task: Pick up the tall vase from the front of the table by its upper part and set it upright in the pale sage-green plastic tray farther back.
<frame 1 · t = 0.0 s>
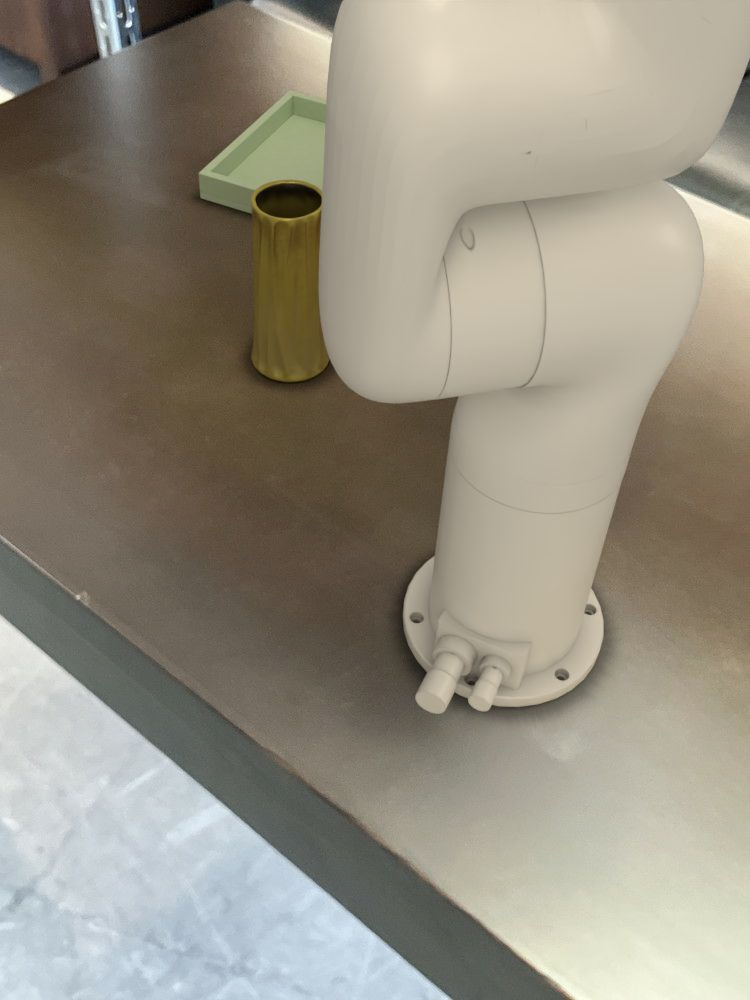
tray: (319, 175, 108), on the table
vase: (290, 360, 90), on the table
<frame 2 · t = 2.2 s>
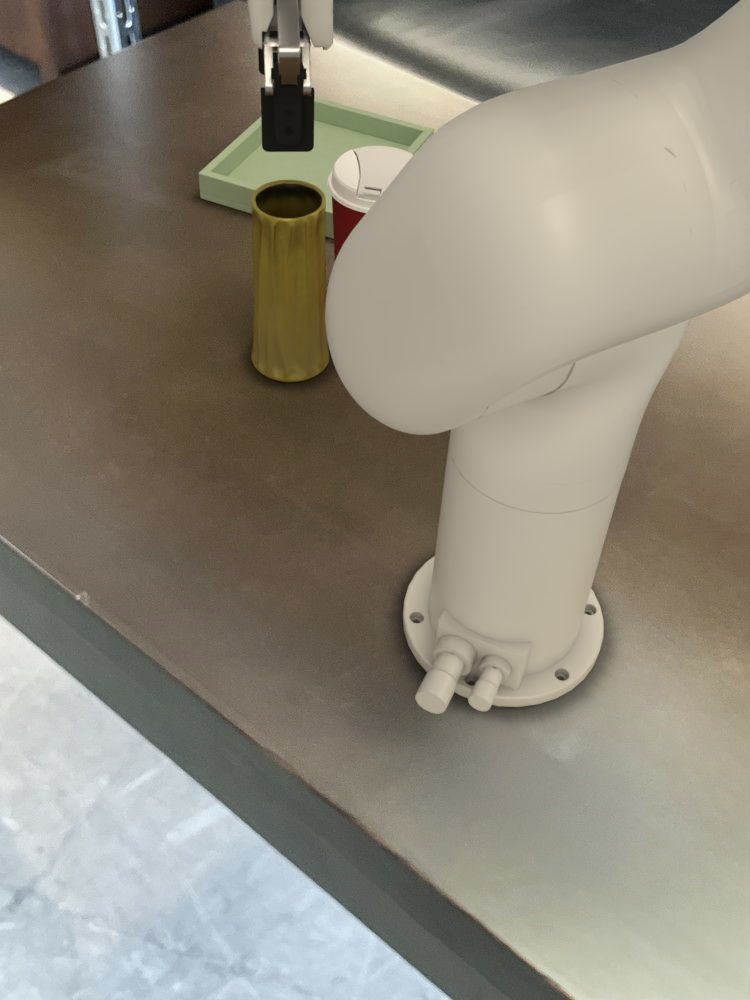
hand: (285, 109, 75), 21 cm above the table, tool pointing down, fingers open, 9 cm apart
nothing on the table moved.
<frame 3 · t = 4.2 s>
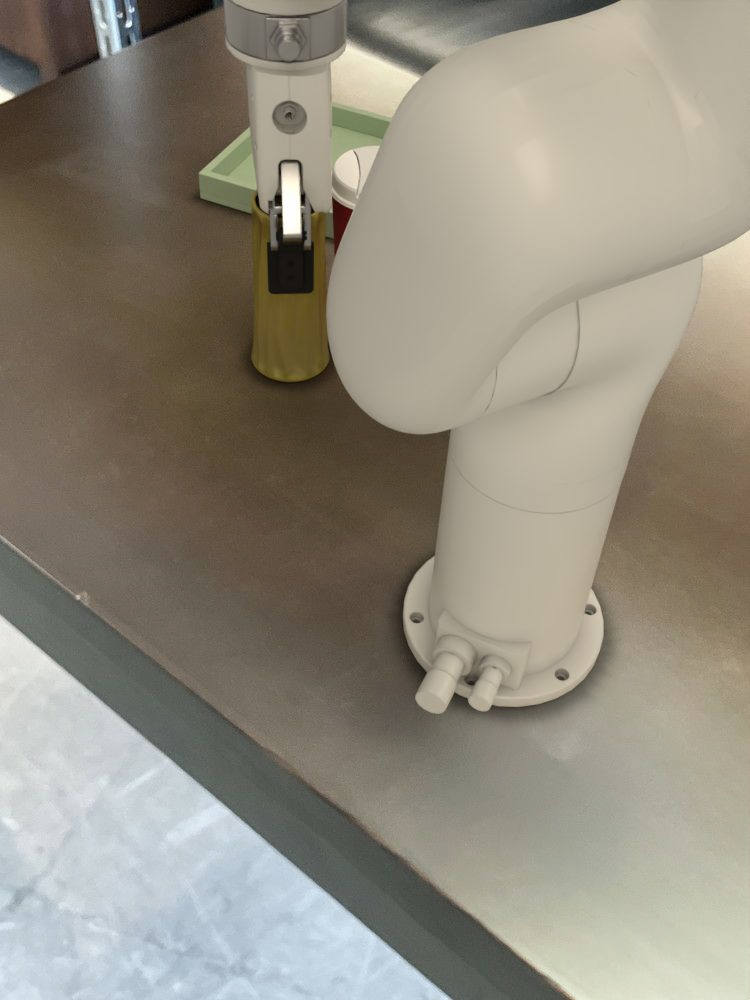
hand: (289, 263, 83), 9 cm above the table, tool pointing down, fingers closed on vase, 5 cm apart
vase: (290, 360, 90), on the table, touching gripper
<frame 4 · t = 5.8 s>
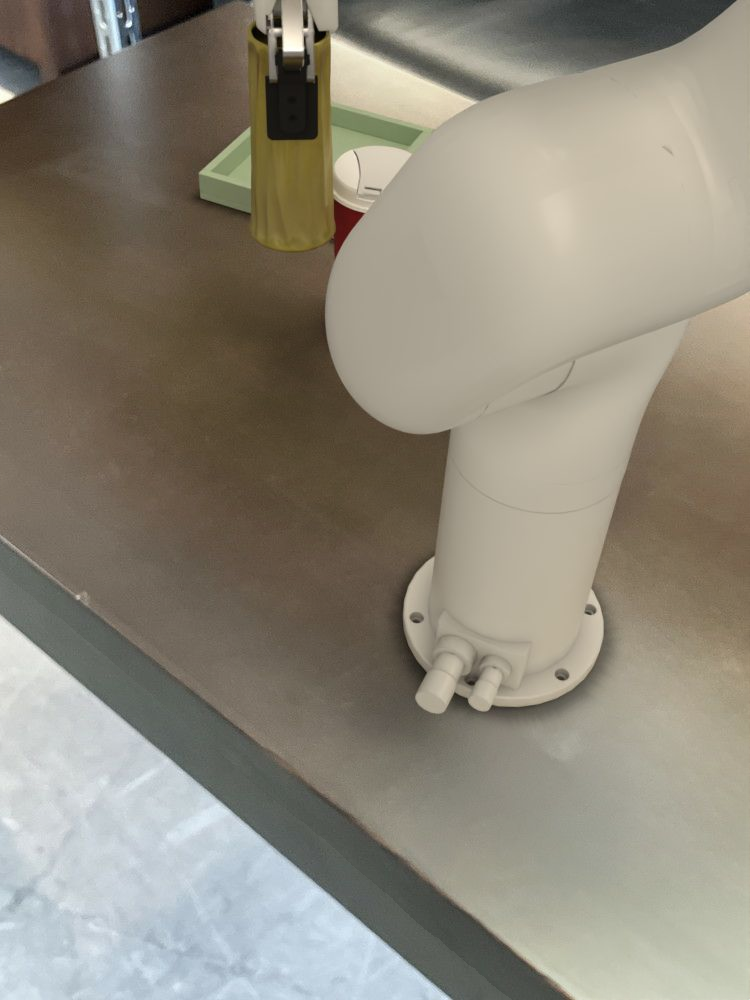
hand: (290, 111, 75), 21 cm above the table, tool pointing down, fingers closed on vase, 5 cm apart
vase: (292, 232, 81), point 12 cm above the table, touching gripper
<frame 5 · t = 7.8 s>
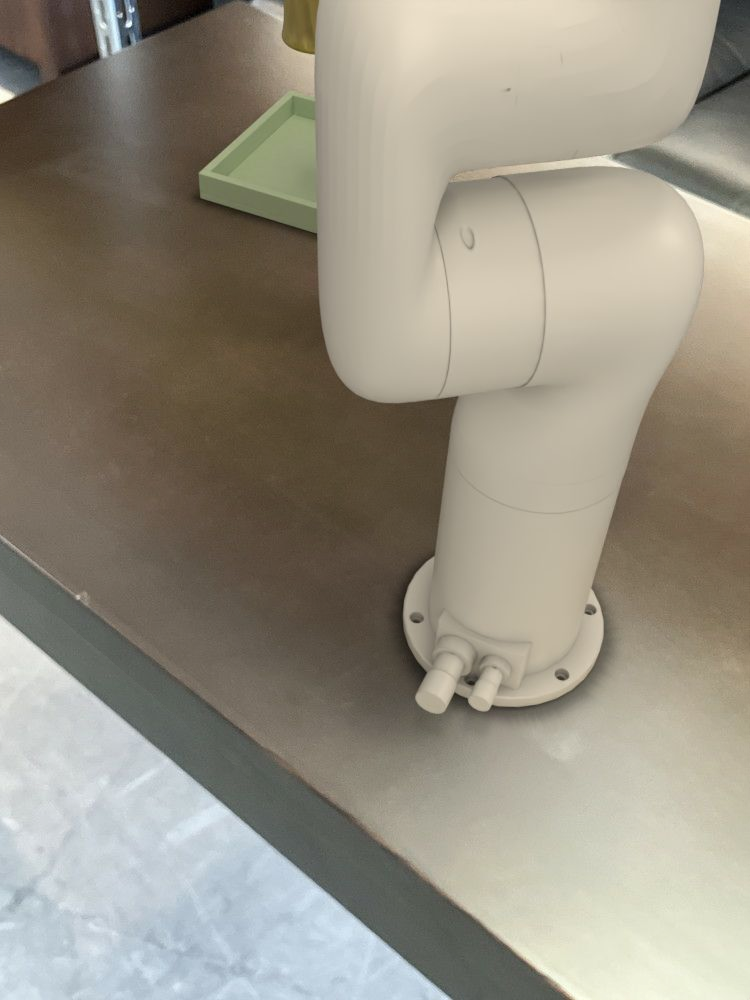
vase: (318, 41, 96), point 14 cm above the table, touching gripper
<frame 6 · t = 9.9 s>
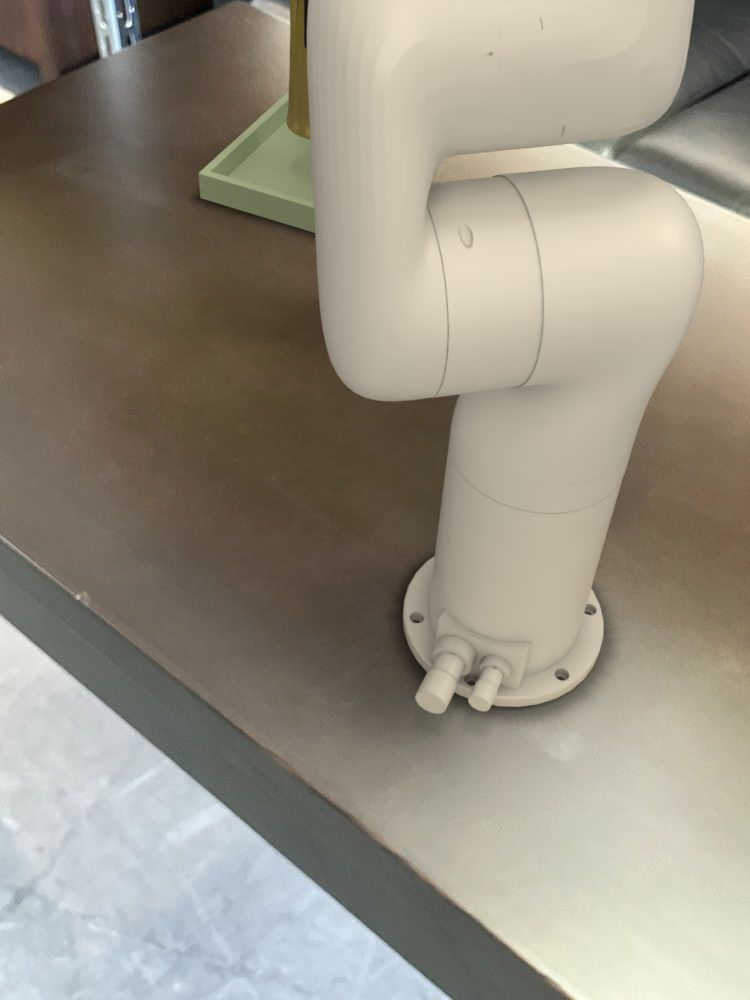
hand: (321, 29, 98), 14 cm above the table, tool pointing down, fingers closed on vase, 5 cm apart
vase: (320, 126, 105), point 5 cm above the table, touching gripper
when the fingers open (9 cm above the table, at t = 11.5 s): vase stays where it is, resting on tray.
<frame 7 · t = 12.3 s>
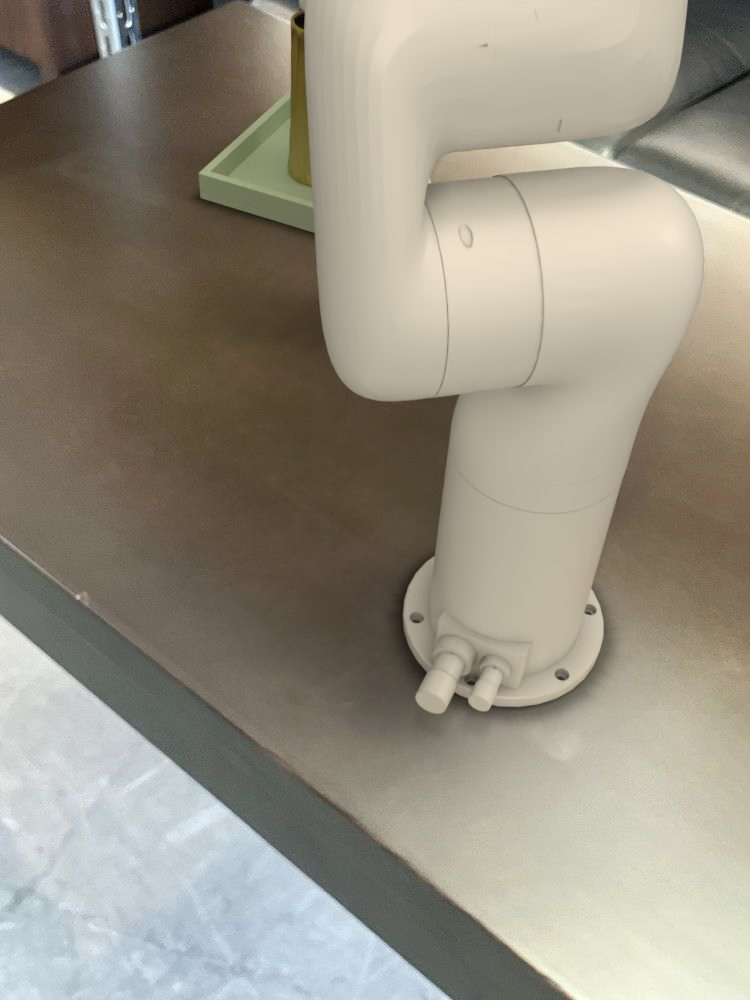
hand: (321, 61, 100), 11 cm above the table, tool pointing down, fingers open, 9 cm apart
vase: (319, 172, 108), resting on tray
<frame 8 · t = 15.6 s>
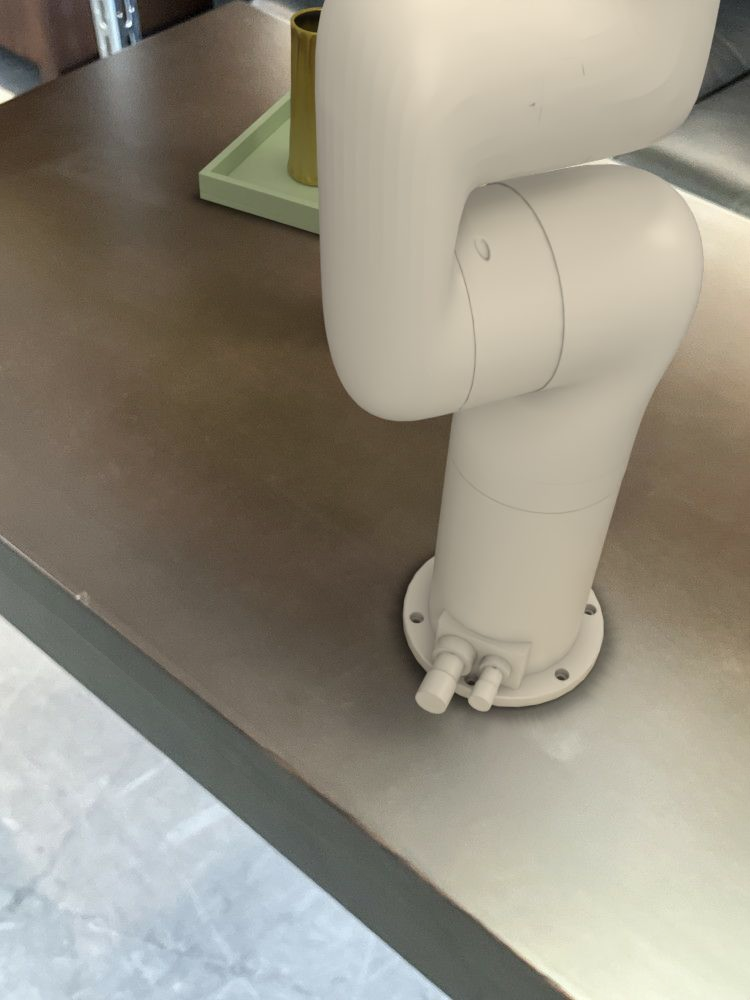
nothing on the table moved.
at the end: vase inside the target area in the tray (0.1 cm from its centre), point 0.4 cm above the tray's base; vase tilted 0°; the gripper is holding nothing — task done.
